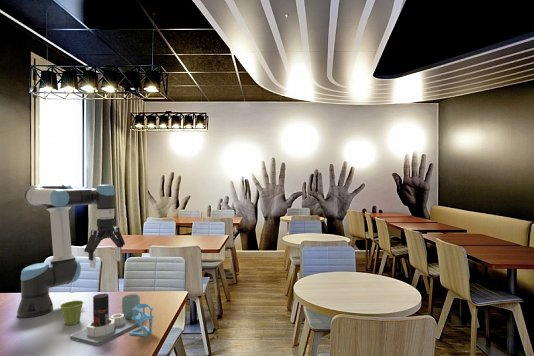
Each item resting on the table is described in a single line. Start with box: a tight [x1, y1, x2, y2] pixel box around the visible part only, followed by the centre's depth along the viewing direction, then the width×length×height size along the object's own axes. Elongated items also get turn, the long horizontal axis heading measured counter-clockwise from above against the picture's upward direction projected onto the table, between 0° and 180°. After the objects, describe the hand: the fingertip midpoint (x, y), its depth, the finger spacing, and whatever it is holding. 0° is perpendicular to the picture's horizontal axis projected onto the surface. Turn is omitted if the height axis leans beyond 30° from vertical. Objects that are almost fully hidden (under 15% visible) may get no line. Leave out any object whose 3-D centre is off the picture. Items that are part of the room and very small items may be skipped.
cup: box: [121, 293, 141, 320], centre depth 168 cm, size 8×8×10 cm
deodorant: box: [92, 293, 110, 327], centre depth 151 cm, size 6×6×15 cm
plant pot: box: [59, 300, 84, 326], centre depth 164 cm, size 9×9×9 cm
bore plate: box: [69, 313, 140, 347], centre depth 153 cm, size 16×22×5 cm
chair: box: [128, 303, 155, 338], centre depth 151 cm, size 8×8×12 cm
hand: (105, 264), depth 164 cm, fingers open, 13 cm apart
